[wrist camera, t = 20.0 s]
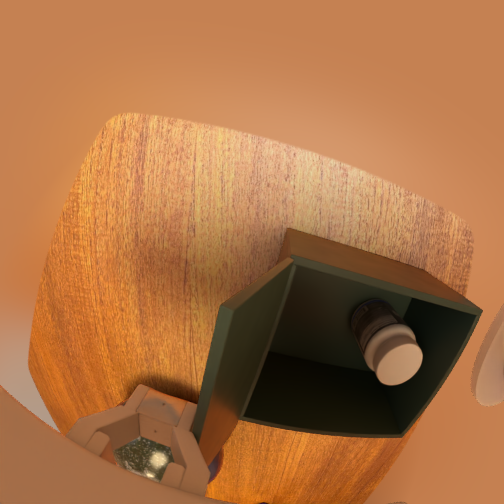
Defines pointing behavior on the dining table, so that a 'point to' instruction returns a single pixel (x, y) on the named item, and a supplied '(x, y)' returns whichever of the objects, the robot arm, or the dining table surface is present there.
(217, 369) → the dark green box lid
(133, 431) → the robot arm
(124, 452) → the vase
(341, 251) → the open box
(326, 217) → the dining table surface
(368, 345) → the pill bottle
